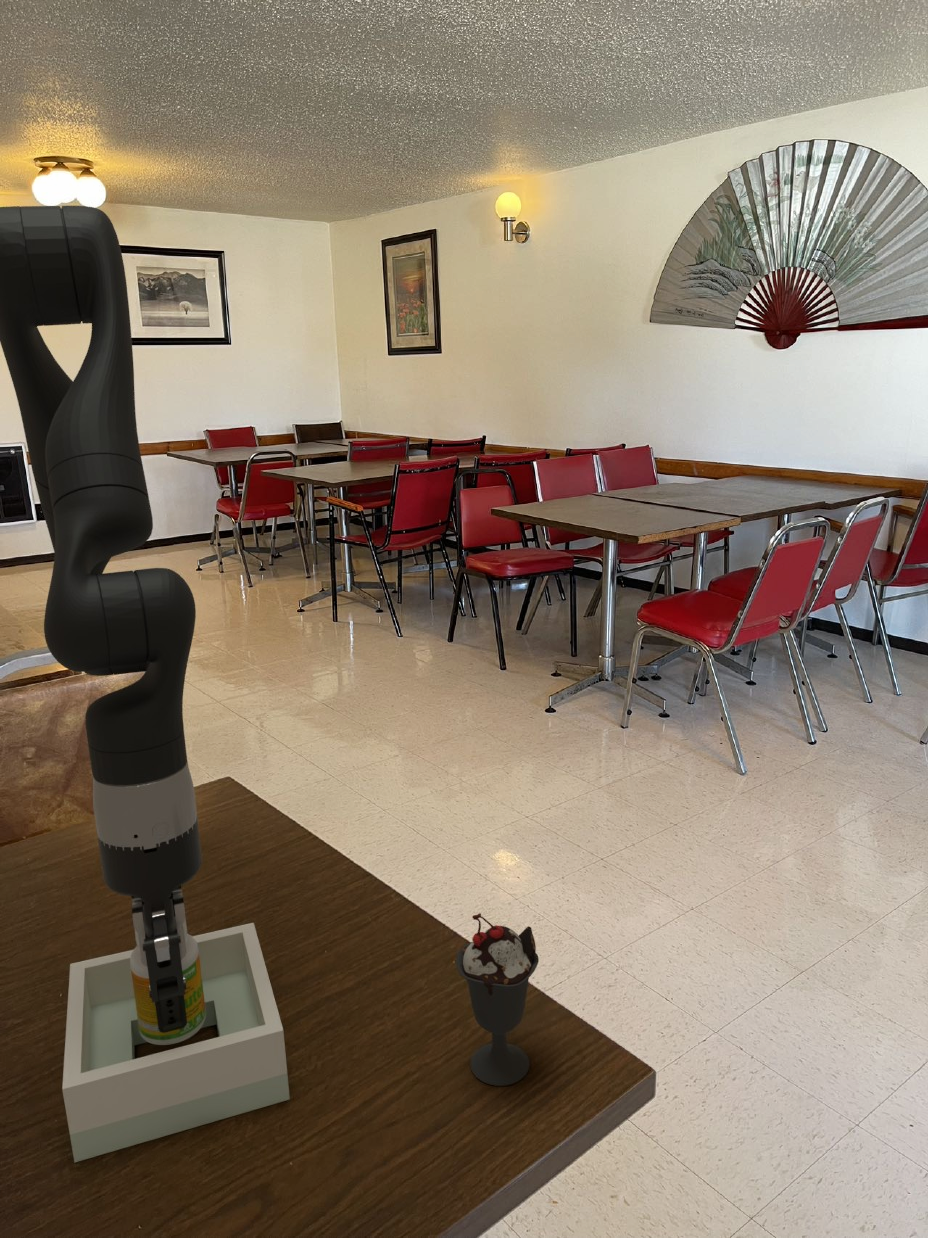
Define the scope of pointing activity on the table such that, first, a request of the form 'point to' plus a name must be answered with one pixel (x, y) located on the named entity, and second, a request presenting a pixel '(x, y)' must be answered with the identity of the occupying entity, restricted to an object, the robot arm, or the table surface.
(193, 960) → the supplement bottle
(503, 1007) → the sundae
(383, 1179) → the table surface
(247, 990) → the bore box
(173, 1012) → the robot arm
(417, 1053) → the table surface
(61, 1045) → the table surface
